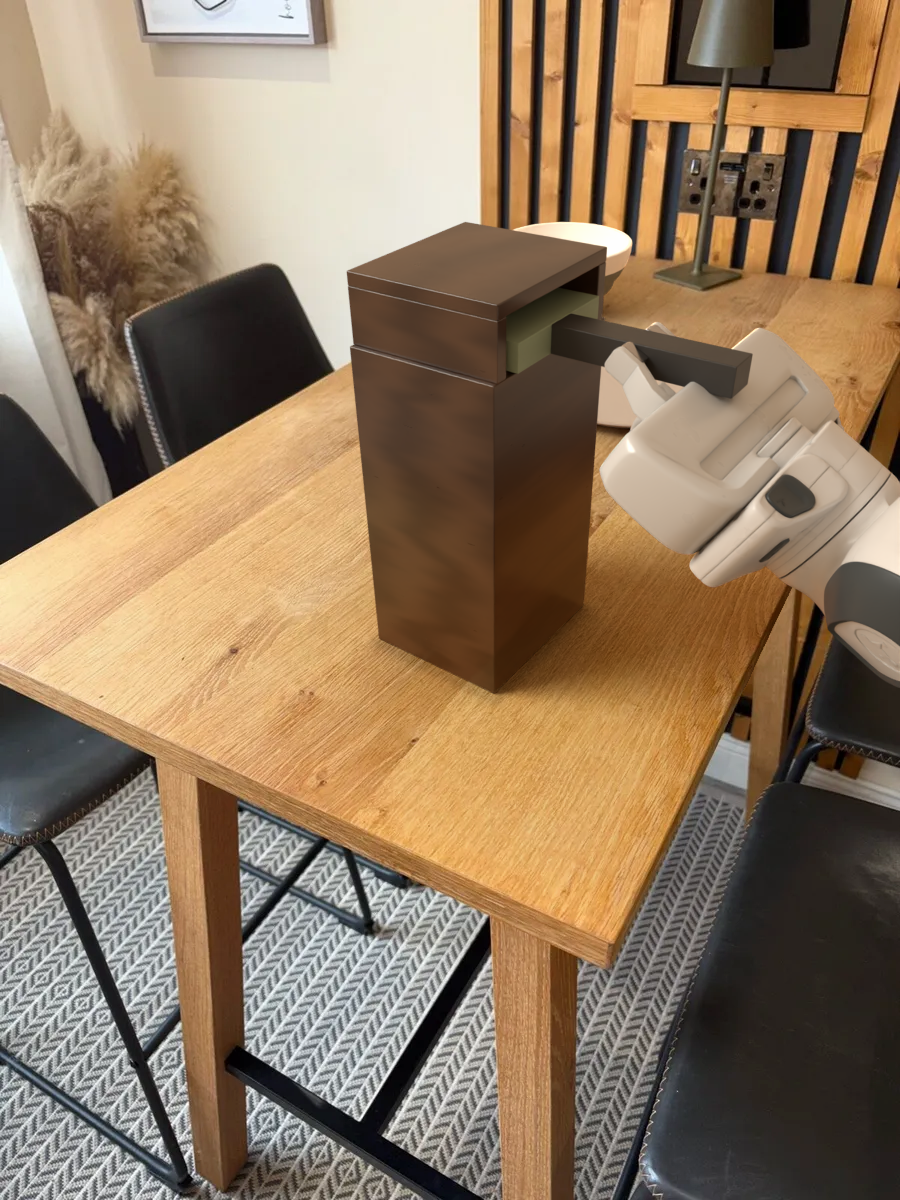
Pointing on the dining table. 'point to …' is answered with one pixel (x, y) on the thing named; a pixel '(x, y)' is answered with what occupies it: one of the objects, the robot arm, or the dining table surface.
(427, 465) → the stand
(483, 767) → the dining table surface
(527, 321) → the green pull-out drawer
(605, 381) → the plate
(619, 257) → the bowl
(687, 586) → the dining table surface
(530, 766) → the dining table surface
